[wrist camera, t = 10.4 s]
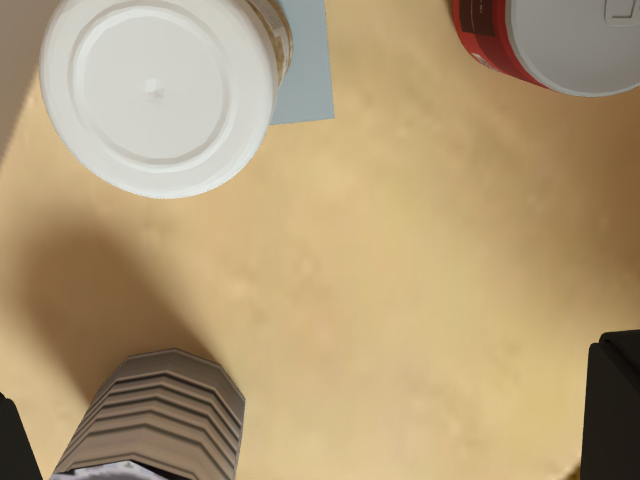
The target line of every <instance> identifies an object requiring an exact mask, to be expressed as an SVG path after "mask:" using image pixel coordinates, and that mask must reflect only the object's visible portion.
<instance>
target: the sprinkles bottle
mask: <svg viewBox="0 0 640 480" xmlns="http://www.w3.org/2000/svg"><path fill="white" fill-rule="evenodd" d="M292 56H293V37H292V32H291V29H290V25H289V22H288V20H287V18H286V17H285V15H284V13H283V12H282V10H281V8H280V6H279V5H278V4H277V3H276V2H275V1H274V0H61V2H60V3H59V4H58V6H57V7H56V9H55V11H54V12H53V14H52V16H51V18H50V20H49V22H48V24H47V27H46V29H45V32H44V35H43V40H42V43H41V49H40V57H39V80H40V87H41V93H42V97H43V100H44V104H45V107H46V111H47V113H48V115H49V118H50V120H51V122H52V125H53V127H54V129H55V130H56V132H57V134H58V135H59V137H60V138H61V140H62V141H63V143H64V144H65V146H66V147H67V148H68V149H69V151H70V152H71V153H72V154H73V155H74V156H75V158H76V159H77V160H78V161H79V162H80V163H82V164H83V165H84V166H85V167H86V168H87V169H89V170H90V171H91V172H92V173H94V174H95V175H97V176H98V177H100V178H101V179H103V180H104V181H106V182H108V183H110V184H112V185H114V186H116V187H118V188H120V189H122V190H125V191H128V192H131V193H134V194H137V195H141V196H146V197H150V198H163V199H166V198H183V197H190V196H195V195H198V194H201V193H204V192H207V191H210V190H212V189H214V188H216V187H218V186H220V185H221V184H223V183H225V182H227V181H228V180H230V179H231V178H232V177H234V176H235V175H236V174H237V173H238V172H239V171H240V170H241V169H242V168H243V167H244V166H245V165H246V164H247V163H248V162H249V161H250V160H251V158H252V157H253V156H254V154H255V153H256V151H257V150H258V148H259V146H260V145H261V143H262V141H263V139H264V137H265V135H266V132H267V130H268V128H269V125H270V123H271V120H272V117H273V114H274V110H275V106H276V102H277V95H278V90H279V88H280V85H281V83H282V81H283V79H284V77H285V75H286V73H287V72H288V69H289V66H290V63H291V60H292Z"/></svg>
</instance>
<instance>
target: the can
mask: <svg viewBox="0 0 640 480" xmlns="http://www.w3.org/2000/svg"><path fill="white" fill-rule="evenodd" d="M244 410H245V398H244V396H243V395H242V394H241V392H240V391H239V390H238V388H237V387H236V385H235V384H234V383H233V381H232V380H231V379H230V377H229V376H228V375H227V373H226V372H225V371H224V369H223V368H222V366H221V365H219V364H216V363H214V362H211V361H208V360H206V359H203V358H200V357H198V356H195V355H192V354H190V353H187V352H184V351H182V350H179V349H176V348H173V349H167V350H162V351H156V352H150V353H144V354H139V355H133V356H129V357H128V358H127V359H126V360H125V361H124V362H123V363H122V364H121V365H120V366H119V367H118V368H117V369H116V370H115V371H114V372H113V374H112V375H111V376H110V377H109V378H108V379H107V380H106V381H105V382H104V383H103V384H102V385H101V387H100V388H99V390H98V392H97V394H96V396H95V397H94V399H93V401H92V403H91V405H90V406H89V408H88V410H87V412H86V414H85V415H84V417H83V419H82V421H81V423H80V424H79V426H78V428H77V430H76V432H75V434H74V435H73V437H72V439H71V441H70V443H69V444H68V446H67V448H66V450H65V452H64V453H63V455H62V457H61V459H60V461H59V462H58V464H57V466H56V468H55V470H54V472H53V473H52V475H51V477H50V479H49V480H235V476H236V470H237V464H238V458H239V452H240V445H241V439H242V431H243V420H244Z"/></svg>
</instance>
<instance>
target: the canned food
mask: <svg viewBox="0 0 640 480" xmlns="http://www.w3.org/2000/svg"><path fill="white" fill-rule="evenodd" d="M453 18H454V23H455V28H456V31H457V34H458V36H459V38H460V41H461V43H462V44H463V46H464V47H465V48H466V50H467V51H468V53H469V54H470V55H472V56H473V57H474V58H475V59H476V60H477V61H478V62H480V63H482V64H483V65H485V66H487V67H489V68H491V69H494V70H496V71H499V72H502V73H505V74H508V75H510V76H513V77H516V78H519V79H521V80H524V81H527V82H530V83H533V84H535V85H538V86H541V87H544V88H547V89H550V90H553V91H556V92H560V93H564V94H567V95H573V96H582V97H601V96H611V95H615V94H618V93H622V92H625V91H629V90H631V89H633V88H635V87H637V86H640V0H453Z"/></svg>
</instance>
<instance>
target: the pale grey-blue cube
mask: <svg viewBox="0 0 640 480" xmlns="http://www.w3.org/2000/svg"><path fill="white" fill-rule="evenodd" d="M274 1H275V2H276V3H277V4H278V5H279V6H280V8H281V10H282V12H283V13H284V15H285V17H286V18H287V20H288V22H289V25H290V29H291V32H292V37H293V56H292V60H291V63H290V66H289V69H288V72H287V73H286V75H285V77H284V79H283V81H282V83H281V85H280V88H279V90H278V95H277V102H276V106H275V110H274V114H273V117H272V120H271V123H270V125H276V124H286V123H296V122H305V121H315V120H325V119H334V118H335V117H334V106H333V95H332V84H331V73H330V62H329V51H328V40H327V28H326V17H325V6H324V0H274Z"/></svg>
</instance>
